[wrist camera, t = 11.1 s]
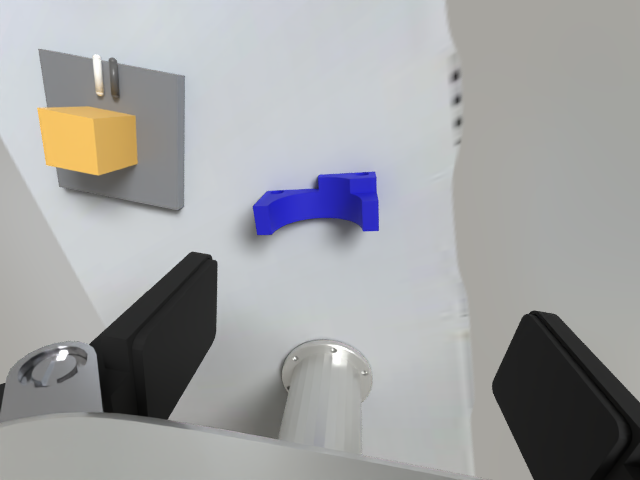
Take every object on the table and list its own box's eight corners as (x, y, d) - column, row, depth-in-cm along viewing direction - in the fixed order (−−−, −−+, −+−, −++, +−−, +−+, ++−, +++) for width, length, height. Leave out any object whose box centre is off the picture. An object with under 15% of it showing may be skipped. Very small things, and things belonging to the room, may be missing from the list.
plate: (183, 206, 39) (155, 223, 34) (69, 183, 40) (23, 197, 34) (184, 70, 33) (150, 65, 28) (50, 45, 34) (-9, 35, 28)
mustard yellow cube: (137, 163, 36) (98, 175, 31) (93, 155, 36) (46, 165, 31) (135, 115, 34) (93, 118, 29) (88, 106, 34) (37, 107, 29)
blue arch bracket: (374, 171, 36) (378, 184, 30) (375, 211, 37) (378, 230, 32) (265, 177, 37) (250, 191, 32) (271, 215, 39) (257, 235, 33)
